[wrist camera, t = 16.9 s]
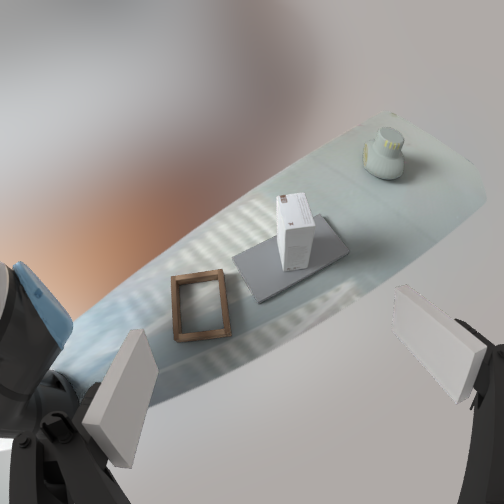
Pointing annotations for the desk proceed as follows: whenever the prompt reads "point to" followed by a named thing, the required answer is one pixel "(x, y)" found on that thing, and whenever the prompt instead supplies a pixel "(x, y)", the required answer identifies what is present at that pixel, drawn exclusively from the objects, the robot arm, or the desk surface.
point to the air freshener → (384, 154)
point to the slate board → (270, 267)
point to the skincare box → (294, 231)
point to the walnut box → (176, 306)
